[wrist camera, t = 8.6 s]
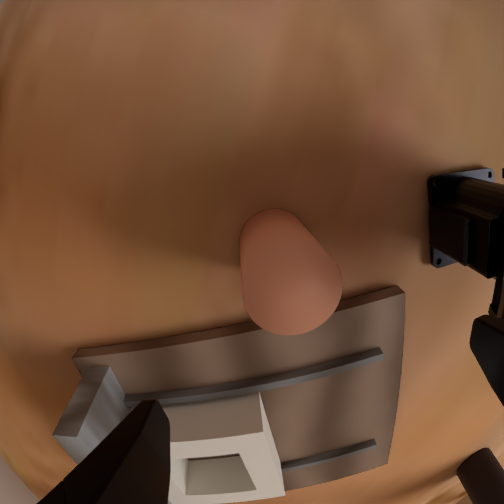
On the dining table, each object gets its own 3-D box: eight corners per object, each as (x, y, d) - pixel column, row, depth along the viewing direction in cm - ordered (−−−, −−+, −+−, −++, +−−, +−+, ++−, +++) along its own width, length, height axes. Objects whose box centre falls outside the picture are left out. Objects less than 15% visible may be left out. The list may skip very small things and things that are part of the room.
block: (258, 389, 21) (263, 431, 17) (280, 460, 24) (285, 495, 20) (131, 405, 21) (119, 443, 17) (176, 472, 24) (172, 504, 20)
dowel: (300, 202, 18) (336, 233, 12) (310, 265, 20) (345, 322, 13) (232, 216, 18) (232, 256, 12) (247, 279, 20) (254, 344, 13)
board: (397, 285, 20) (463, 349, 13) (384, 455, 27) (407, 511, 20) (77, 349, 21) (32, 422, 13) (176, 492, 28) (170, 549, 20)
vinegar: (464, 474, 34) (505, 552, 15) (449, 472, 32) (494, 560, 13) (493, 448, 32) (541, 525, 13) (482, 444, 31) (535, 531, 12)
